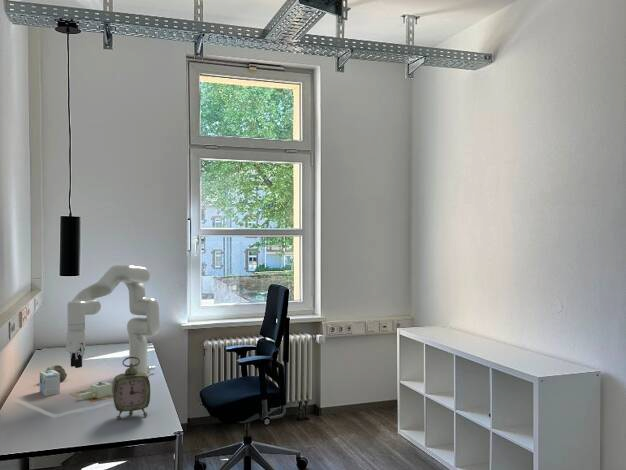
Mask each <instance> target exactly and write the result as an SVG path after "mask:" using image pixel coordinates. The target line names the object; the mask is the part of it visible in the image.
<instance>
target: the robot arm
mask: <svg viewBox="0 0 626 470" xmlns="http://www.w3.org/2000/svg"><path fill="white" fill-rule="evenodd" d="M150 277H151V274H150V271H149V269H147V268H146V267H144V266H135V265H130V264H129V265H128V264H125V265H123V264H121V265H120V264H117V265H112V266H111V267H109V269H108V270H107V271H106V272H105V273H104V274H103V275H102V277H100V279H99V280H98V281H97V282H95V283H92V284H91V285H89V286H87V287H85V288H84V289H82V290H81V291H79V292H78V293H77V294H76V295H75V296H74V298H73V299H72V300H70V301H68V303H67V333H66V342H65V345H66V346H65V350H66V351H67V352H68V353H69V357H70V367H71V368H73V367H74V368H75V369H79V368H82V367H83V359H84V358H83V357H84V356H85V351H86V335H85V330H86V316H88V315H89V316H91V315H92V316H93V315H97V314H98V313H99V312H100V311H101V307H102V304H101V302H100V301H99V300H97V298H102V297H106V296H108V295H110V294H111V293H112V292H113V291H114V290H115V289H116V287H118V285H119V284H120V283H123V284H125V286H126V288H127V289H128V301H129V302H128V304H129V312H130V314H131V315H134V316H139V317H132V318H130V319H129V320H128V322H127V324H126V329H127V330H126V331H127V334H128V335H127V336H128V345H129V347H128V350H129V351H128V355H129V356H128V357H137V358H138V359H139V360H140V363H139V361H138V360H137V359H135V358H130V359H128V361H129V362H128V364H129V365H130V364H131V363H132V364H133V365H135V364H137V363H139V364H138V365H137V366H134V368H136V370H137V372H143V373H145V374H146V375H147V377H149V376H150V375H151V371H153V370H156V366H155V365H152V366H150V365H149V366H148V339H147V338H146V337H154V336H156V335H157V334H158V333H159V331H160V323H161V322H160V306H159V303H158V301H157V300H156V299H155V298H153V297H146V288H145V285H144V284H146V283H148V281H149V280H150ZM140 316H146V317H140ZM128 368H130V367H128Z"/></svg>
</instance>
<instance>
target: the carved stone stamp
mask: <svg viewBox="0 0 626 470" xmlns="http://www.w3.org/2000/svg"><path fill="white" fill-rule="evenodd" d="M49 370H55V371H57V372H58V373H60V383H62V382H64V381H65V380H66V378H67V376H68V373H67V372H66V370H65V368H63V366H61V365H59V364H57V365H52V366H50V367H47V368H46V370H45V371H49Z"/></svg>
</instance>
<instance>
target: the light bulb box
mask: <svg viewBox="0 0 626 470" xmlns="http://www.w3.org/2000/svg"><path fill="white" fill-rule="evenodd" d="M60 384H61V382H60V373H58V372H57V371H55V370H49V371H46V370H44V371H39V393H41V394H42V395H44V396H45V397H48V396H51V395H52V396H53V395H58V394H60V393H61V392H60V391H61V385H60Z"/></svg>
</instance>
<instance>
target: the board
mask: <svg viewBox="0 0 626 470" xmlns="http://www.w3.org/2000/svg"><path fill="white" fill-rule="evenodd" d="M86 392H90V388H89V389H85V390H80V391H76V392H71V393H68V395H69V396H72V397H74V398H77V399H78V394H81V393H86ZM108 399H113V384H112V395H109V396H105V397H100V398H96V399H93V398H89V399H85V400H84V401H86V402H88V403H95V402H100V401H105V400H108Z"/></svg>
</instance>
